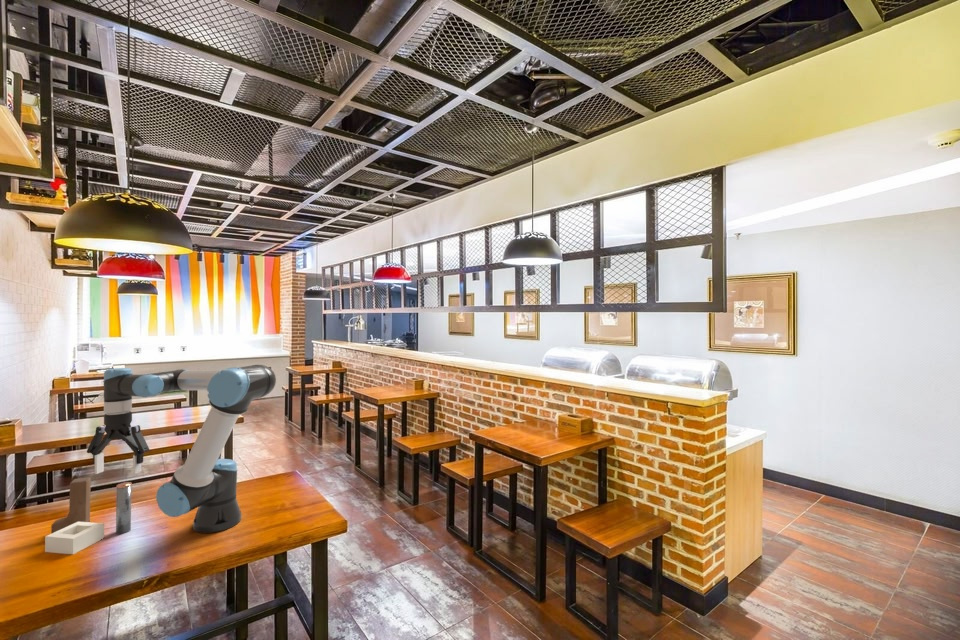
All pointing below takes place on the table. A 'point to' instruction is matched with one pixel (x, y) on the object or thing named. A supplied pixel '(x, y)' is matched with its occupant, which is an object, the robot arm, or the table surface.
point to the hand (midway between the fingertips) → (118, 472)
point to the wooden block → (76, 504)
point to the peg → (123, 508)
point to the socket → (74, 537)
